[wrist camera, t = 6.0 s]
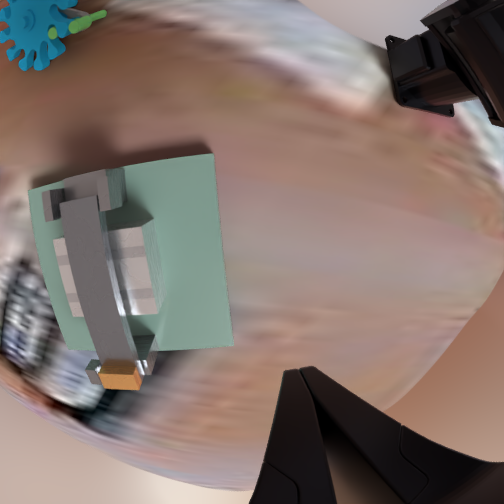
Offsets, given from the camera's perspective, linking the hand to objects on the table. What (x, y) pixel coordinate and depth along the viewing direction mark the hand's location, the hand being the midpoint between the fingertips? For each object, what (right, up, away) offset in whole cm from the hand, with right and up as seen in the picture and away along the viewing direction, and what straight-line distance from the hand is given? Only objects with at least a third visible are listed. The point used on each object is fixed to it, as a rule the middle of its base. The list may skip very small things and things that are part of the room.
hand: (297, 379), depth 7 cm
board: (-10, +3, +11) cm, 15 cm away
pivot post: (-11, +8, +9) cm, 16 cm away
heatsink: (-10, +3, +9) cm, 14 cm away
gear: (-17, +21, +5) cm, 28 cm away
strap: (-10, +1, +7) cm, 12 cm away
